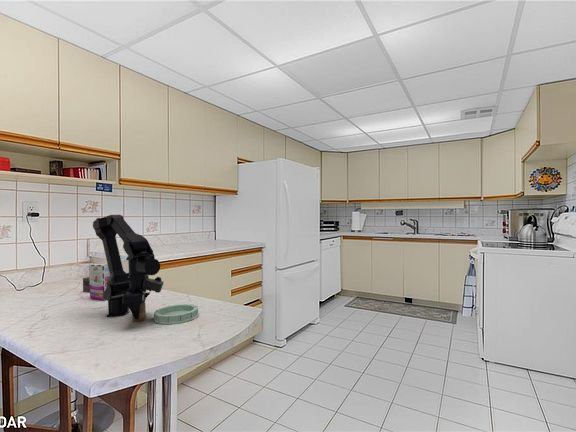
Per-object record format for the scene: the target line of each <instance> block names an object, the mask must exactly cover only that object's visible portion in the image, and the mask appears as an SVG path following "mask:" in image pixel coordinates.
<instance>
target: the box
mask: <svg viewBox="0 0 576 432" xmlns="http://www.w3.org/2000/svg"><path fill="white" fill-rule="evenodd" d="M82 292H83V293H90V276H88V277H82Z"/></svg>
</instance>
